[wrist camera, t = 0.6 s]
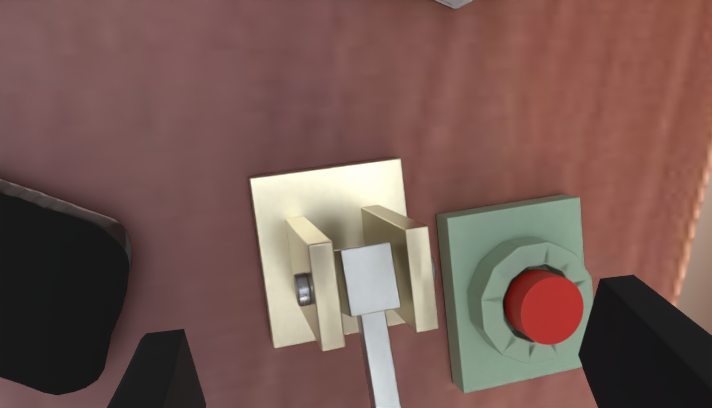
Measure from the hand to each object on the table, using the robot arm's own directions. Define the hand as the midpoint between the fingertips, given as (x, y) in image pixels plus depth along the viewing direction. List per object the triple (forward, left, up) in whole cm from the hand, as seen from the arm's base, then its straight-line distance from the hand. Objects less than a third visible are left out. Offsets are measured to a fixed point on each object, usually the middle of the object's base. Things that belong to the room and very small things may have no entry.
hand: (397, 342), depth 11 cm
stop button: (-7, -13, -19) cm, 24 cm away
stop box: (-7, -13, -22) cm, 27 cm away
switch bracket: (-3, -3, -22) cm, 23 cm away
